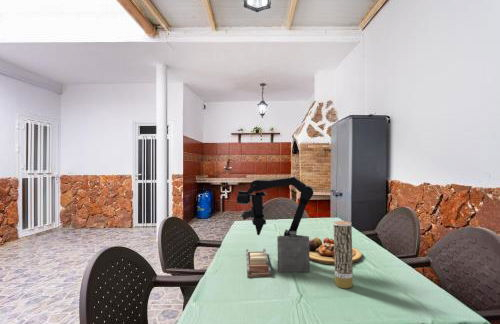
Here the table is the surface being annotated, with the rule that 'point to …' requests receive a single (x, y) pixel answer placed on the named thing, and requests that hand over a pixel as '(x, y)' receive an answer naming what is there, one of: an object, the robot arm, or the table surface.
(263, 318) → the table surface
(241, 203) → the robot arm
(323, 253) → the wooden plate with food
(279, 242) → the flask
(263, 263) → the cream square block
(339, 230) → the tree log
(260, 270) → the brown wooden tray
